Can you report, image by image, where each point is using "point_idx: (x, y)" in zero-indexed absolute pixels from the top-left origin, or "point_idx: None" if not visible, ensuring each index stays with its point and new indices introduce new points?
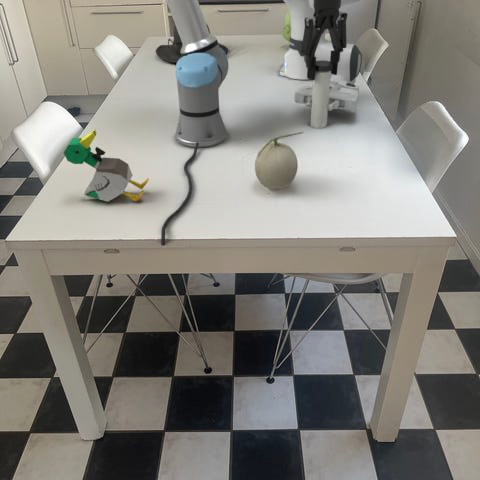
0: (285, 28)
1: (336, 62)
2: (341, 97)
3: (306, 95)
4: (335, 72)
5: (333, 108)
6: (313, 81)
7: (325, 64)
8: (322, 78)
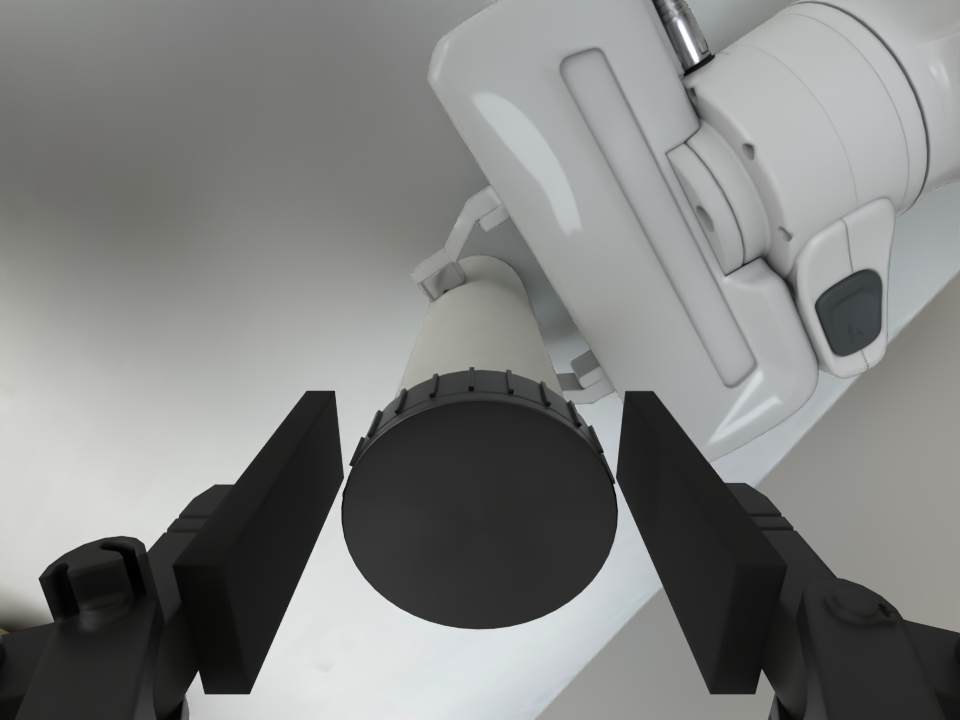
0: None
1: (663, 573)
2: None
3: (481, 168)
4: (626, 493)
5: None
6: (401, 380)
7: (469, 580)
8: None
